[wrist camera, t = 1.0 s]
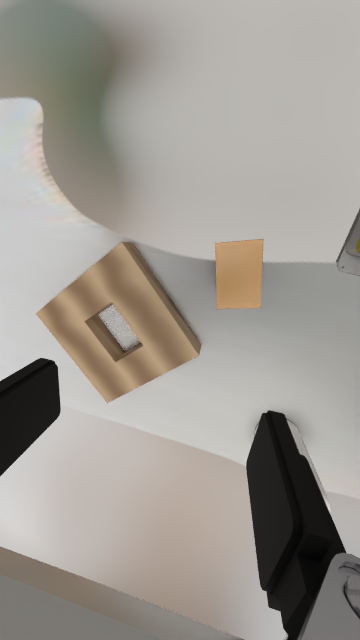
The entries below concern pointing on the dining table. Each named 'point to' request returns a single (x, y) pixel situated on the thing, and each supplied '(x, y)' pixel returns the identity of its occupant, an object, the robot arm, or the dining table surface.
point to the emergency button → (351, 250)
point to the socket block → (137, 310)
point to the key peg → (239, 274)
